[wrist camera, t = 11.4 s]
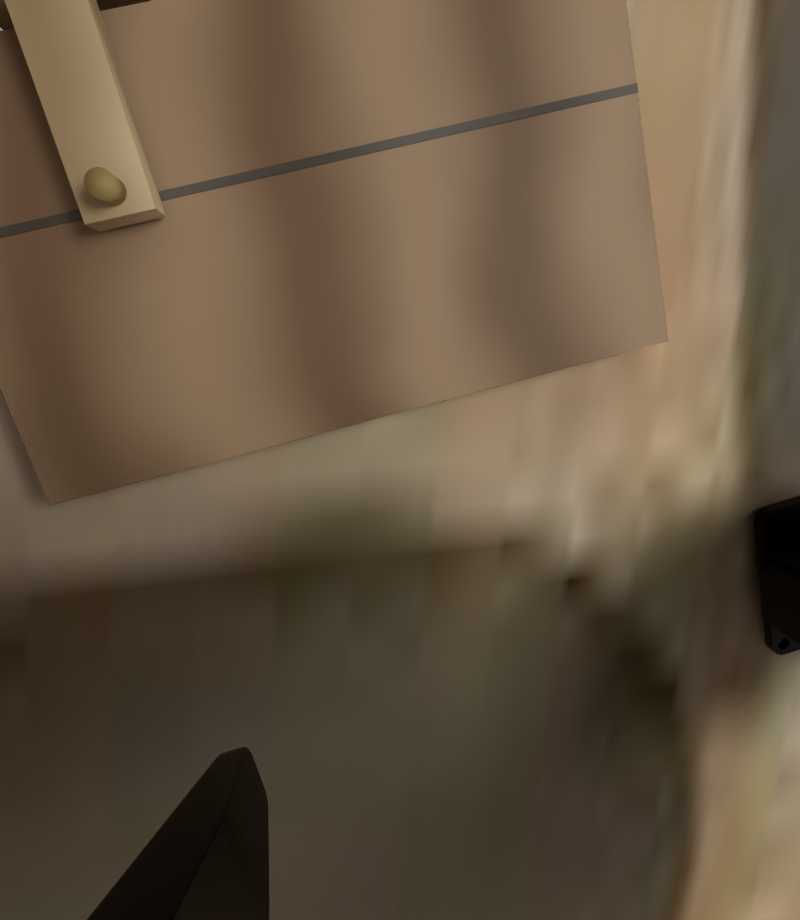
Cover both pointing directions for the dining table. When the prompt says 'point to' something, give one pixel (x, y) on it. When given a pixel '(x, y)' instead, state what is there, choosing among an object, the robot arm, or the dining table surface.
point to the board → (322, 226)
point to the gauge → (86, 107)
